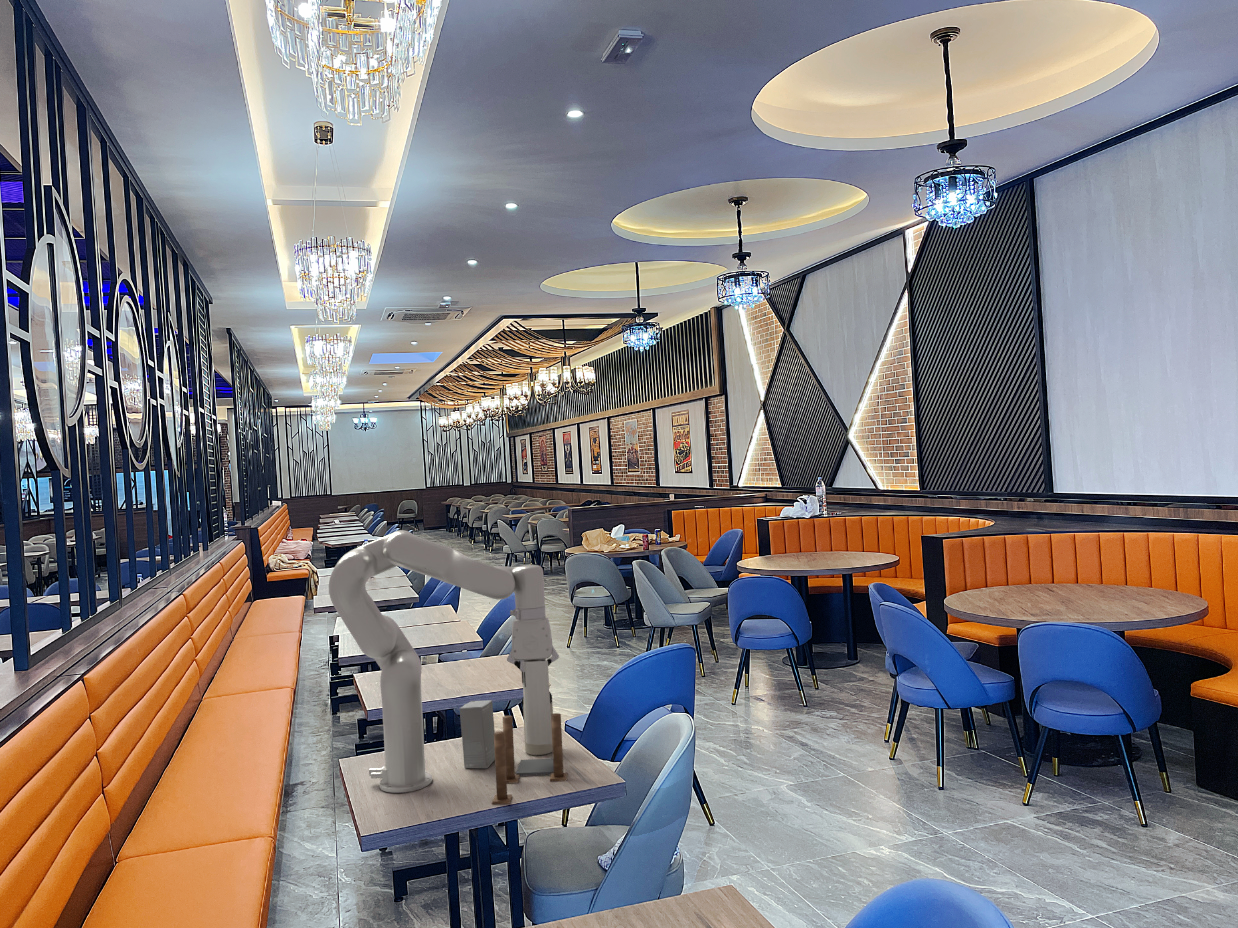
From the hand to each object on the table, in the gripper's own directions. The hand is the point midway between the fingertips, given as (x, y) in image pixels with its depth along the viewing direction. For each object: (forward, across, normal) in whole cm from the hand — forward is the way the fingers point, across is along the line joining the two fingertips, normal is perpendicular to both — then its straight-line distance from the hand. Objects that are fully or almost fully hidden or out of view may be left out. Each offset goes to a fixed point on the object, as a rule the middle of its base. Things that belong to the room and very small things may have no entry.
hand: (534, 684), depth 218 cm
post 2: (+21, -6, -8) cm, 23 cm away
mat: (+21, 0, 0) cm, 21 cm away
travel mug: (+22, -1, +14) cm, 26 cm away
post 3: (+21, +6, -8) cm, 23 cm away
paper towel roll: (+15, 0, 0) cm, 15 cm away
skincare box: (+22, -16, +6) cm, 28 cm away
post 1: (+21, -6, -20) cm, 30 cm away
